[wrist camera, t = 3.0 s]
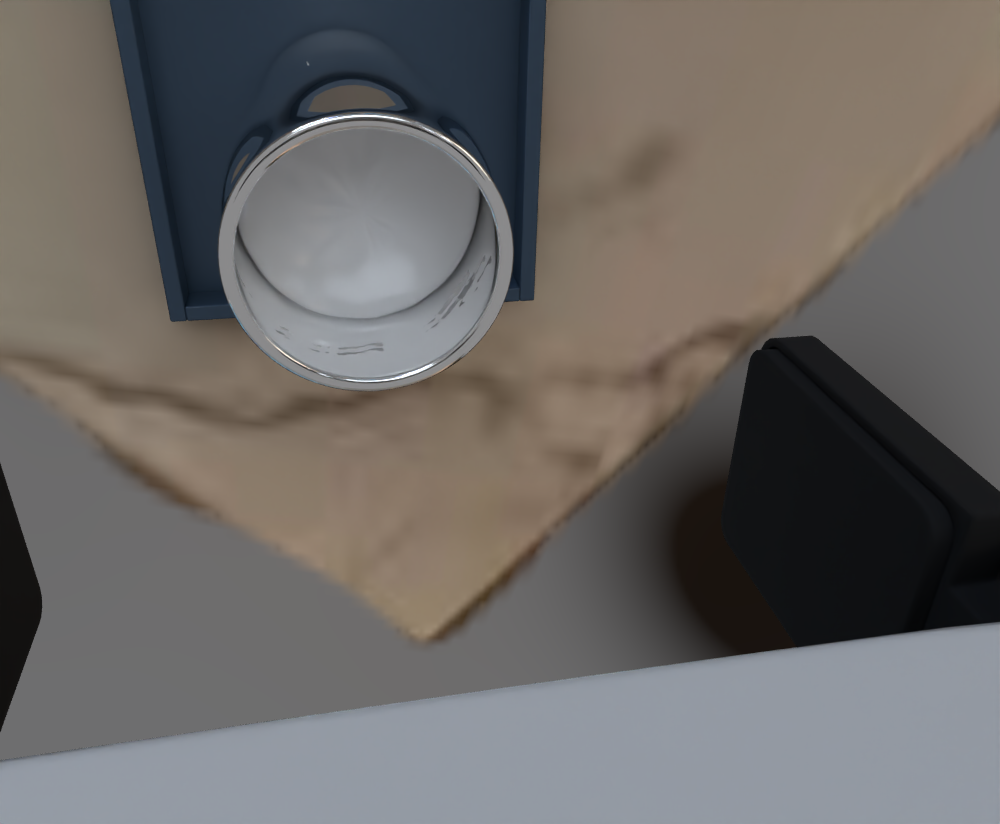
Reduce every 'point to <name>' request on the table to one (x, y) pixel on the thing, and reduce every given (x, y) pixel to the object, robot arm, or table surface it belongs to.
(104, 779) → the robot arm
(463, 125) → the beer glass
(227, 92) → the tray
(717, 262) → the table surface
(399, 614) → the table surface
